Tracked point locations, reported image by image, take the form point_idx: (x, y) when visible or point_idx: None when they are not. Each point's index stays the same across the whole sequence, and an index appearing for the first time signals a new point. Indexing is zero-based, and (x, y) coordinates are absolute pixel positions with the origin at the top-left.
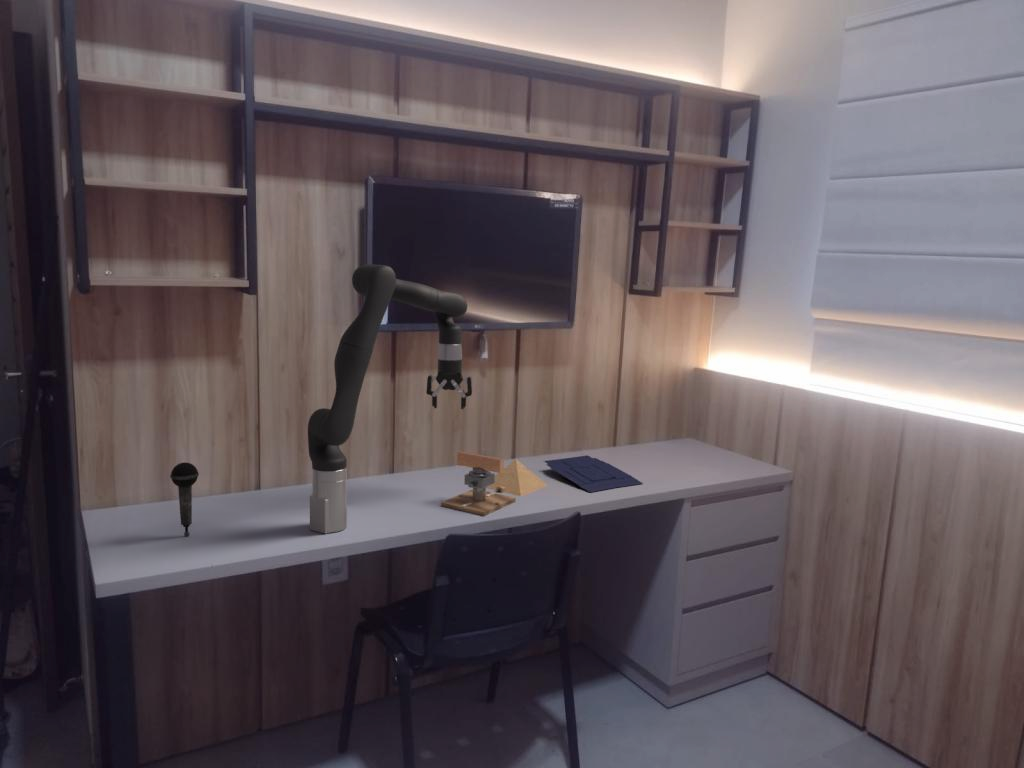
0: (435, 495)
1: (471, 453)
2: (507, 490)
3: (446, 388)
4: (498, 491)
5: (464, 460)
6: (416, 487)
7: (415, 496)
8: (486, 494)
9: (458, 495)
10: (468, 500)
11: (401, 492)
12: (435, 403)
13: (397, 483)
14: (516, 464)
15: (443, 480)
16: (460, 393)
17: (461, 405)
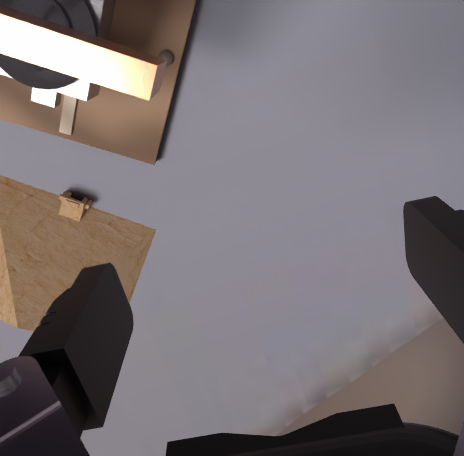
0: (275, 78)
1: (66, 67)
2: (48, 201)
3: (347, 439)
4: (83, 199)
5: (113, 46)
6: (369, 151)
7: (345, 38)
8: (85, 112)
9: (178, 61)
10: (116, 6)
11: (409, 71)
12: (443, 220)
13: (447, 174)
14: (13, 301)
15: (300, 256)
16: (43, 401)
17: (92, 282)
